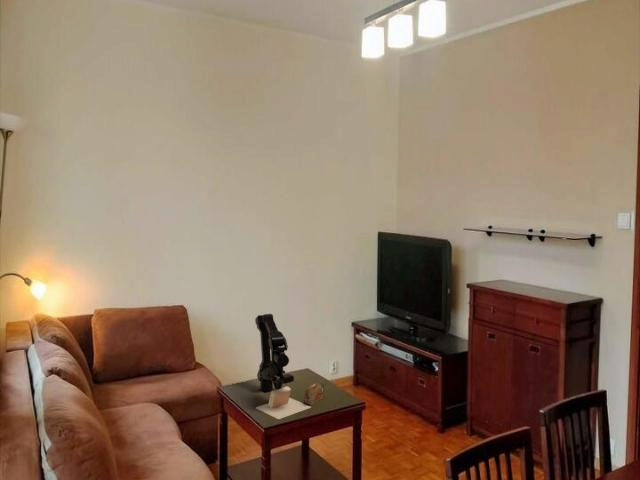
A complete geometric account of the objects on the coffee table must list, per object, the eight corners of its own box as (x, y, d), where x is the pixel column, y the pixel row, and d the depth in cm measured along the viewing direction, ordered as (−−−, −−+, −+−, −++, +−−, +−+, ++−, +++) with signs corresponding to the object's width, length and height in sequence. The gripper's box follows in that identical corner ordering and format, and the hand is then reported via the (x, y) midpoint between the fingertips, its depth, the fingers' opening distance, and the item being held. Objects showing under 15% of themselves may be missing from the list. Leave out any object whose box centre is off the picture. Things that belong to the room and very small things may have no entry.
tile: (268, 405, 255) (271, 391, 253) (284, 399, 262) (287, 386, 259) (271, 408, 253) (275, 395, 251) (288, 403, 260) (291, 389, 257)
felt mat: (255, 408, 255) (255, 407, 255) (287, 397, 268) (287, 396, 268) (278, 420, 241) (278, 419, 241) (311, 407, 255) (311, 407, 255)
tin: (308, 407, 256) (308, 390, 255) (303, 406, 257) (303, 389, 257) (324, 397, 269) (324, 381, 268) (319, 396, 270) (319, 379, 269)
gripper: (252, 360, 257) (252, 391, 259) (275, 369, 244) (276, 402, 245) (270, 355, 265) (271, 385, 266) (294, 363, 251) (294, 396, 252)
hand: (277, 392), depth 257 cm, fingers closed
